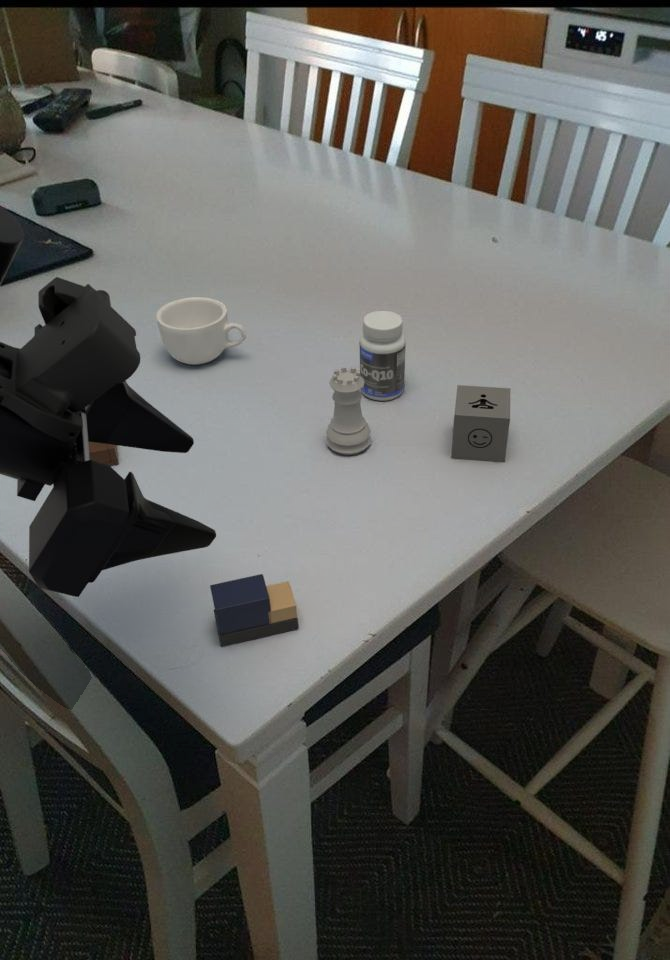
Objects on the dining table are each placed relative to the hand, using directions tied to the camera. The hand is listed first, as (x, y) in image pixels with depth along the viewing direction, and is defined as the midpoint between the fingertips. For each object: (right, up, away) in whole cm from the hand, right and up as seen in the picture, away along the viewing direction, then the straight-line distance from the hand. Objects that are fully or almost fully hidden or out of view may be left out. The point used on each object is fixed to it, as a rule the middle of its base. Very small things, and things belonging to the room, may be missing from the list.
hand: (201, 489), depth 51 cm
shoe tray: (-17, +5, +31) cm, 36 cm away
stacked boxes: (+2, -10, +11) cm, 15 cm away
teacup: (-6, +15, +42) cm, 45 cm away
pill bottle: (+14, +10, +35) cm, 39 cm away
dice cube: (+22, +4, +28) cm, 36 cm away
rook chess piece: (+10, +4, +28) cm, 30 cm away
